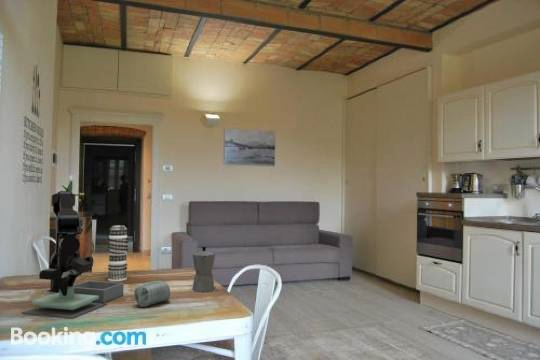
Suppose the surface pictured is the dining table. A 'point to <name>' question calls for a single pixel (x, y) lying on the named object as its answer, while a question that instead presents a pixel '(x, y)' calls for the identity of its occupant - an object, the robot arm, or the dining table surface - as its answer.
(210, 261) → the coffeepot
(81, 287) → the tub
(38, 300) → the lid
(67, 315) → the mat
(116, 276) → the decorative candle
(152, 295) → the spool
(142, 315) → the dining table surface
